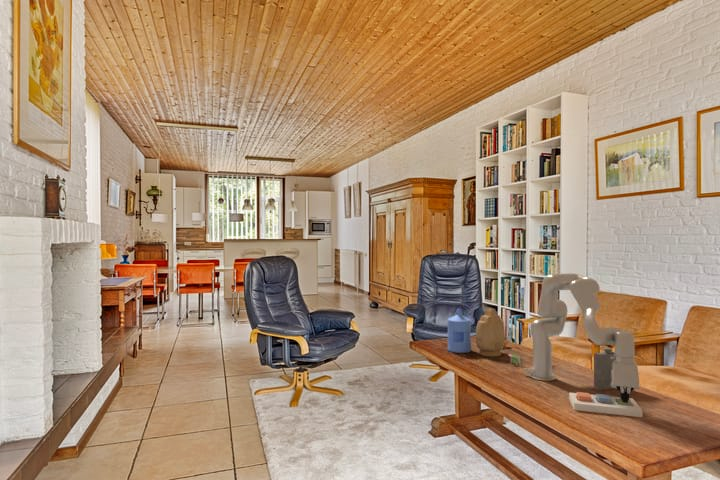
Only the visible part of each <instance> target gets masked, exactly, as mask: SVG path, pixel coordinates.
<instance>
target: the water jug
mask: <svg viewBox="0 0 720 480" xmlns="http://www.w3.org/2000/svg"><path fill="white" fill-rule="evenodd" d="M462 309H463V308H456V315H454V316H453V315H452V316H451V317H449V318H447V325H446V326H447V334H446V336H447V350H448V351H449V352H450V353H456V354H466V353H470V352H471V351H472V340H471V331H472V321H471V319H470V318H468V317H466V316H464V315H463V314H462Z"/></svg>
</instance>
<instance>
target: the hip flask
mask: <svg viewBox="0 0 720 480" xmlns="http://www.w3.org/2000/svg"><path fill="white" fill-rule="evenodd" d="M603 351H604V352H596V353H595V352H594V353H593V389H594V390H595V391H602V390H603V391H604V390H615V389H616V390H618V389H617V388H614V387H611V370H612V364H613V361H615V360H613V359H611V356H614V354H615V351H613V348H612V347H604V348H603ZM623 389H625V387H623Z"/></svg>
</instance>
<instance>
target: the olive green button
mask: <svg viewBox="0 0 720 480" xmlns="http://www.w3.org/2000/svg"><path fill="white" fill-rule="evenodd" d="M616 402H617V403H618V405H627V406H633V404H632V402H631V401H630V400H628V403H626V402H623V401H622V400H621V399H616Z"/></svg>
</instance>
